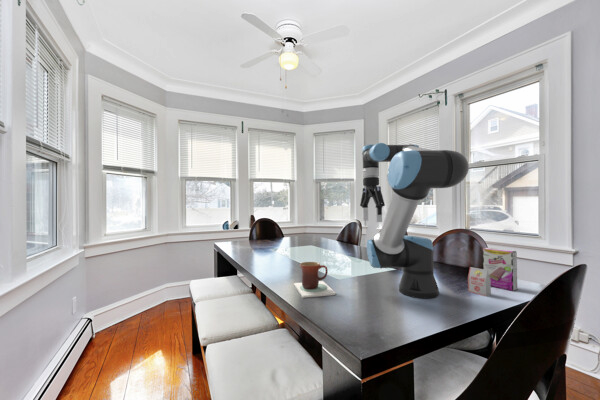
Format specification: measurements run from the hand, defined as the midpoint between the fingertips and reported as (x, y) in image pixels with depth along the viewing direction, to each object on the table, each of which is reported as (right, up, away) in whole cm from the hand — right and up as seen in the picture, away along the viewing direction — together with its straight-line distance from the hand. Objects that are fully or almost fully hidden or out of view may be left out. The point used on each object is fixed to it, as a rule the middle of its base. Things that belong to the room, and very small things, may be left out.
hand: (371, 221), depth 128 cm
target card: (-29, -29, -12) cm, 43 cm away
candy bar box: (+52, -28, -13) cm, 61 cm away
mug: (-29, -28, -13) cm, 42 cm away
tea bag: (+38, -28, -20) cm, 52 cm away
